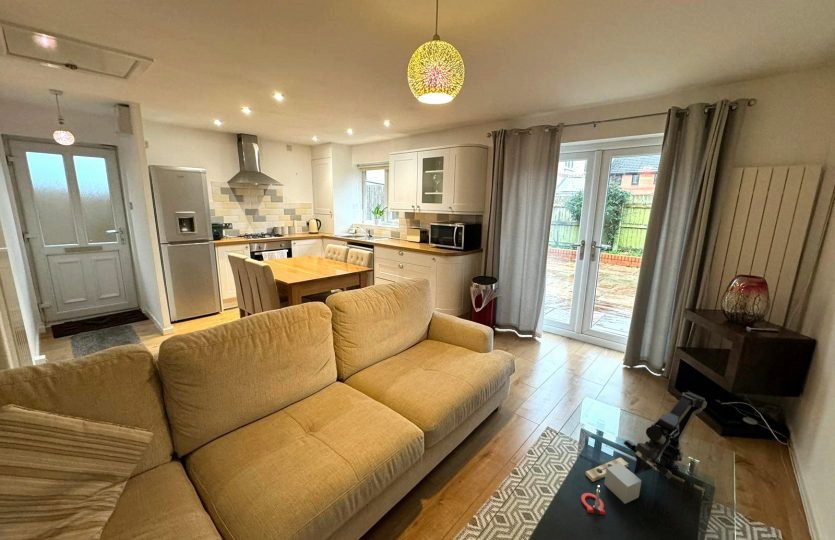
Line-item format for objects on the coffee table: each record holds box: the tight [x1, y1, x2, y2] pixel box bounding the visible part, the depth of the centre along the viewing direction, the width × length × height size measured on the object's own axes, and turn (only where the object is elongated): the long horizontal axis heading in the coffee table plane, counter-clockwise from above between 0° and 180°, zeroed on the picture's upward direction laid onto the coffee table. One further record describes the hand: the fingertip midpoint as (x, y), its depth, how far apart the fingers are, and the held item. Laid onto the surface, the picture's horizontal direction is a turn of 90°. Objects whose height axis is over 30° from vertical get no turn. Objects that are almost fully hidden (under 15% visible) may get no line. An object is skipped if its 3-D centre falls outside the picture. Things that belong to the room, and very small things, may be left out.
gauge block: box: [603, 463, 642, 505], centre depth 141 cm, size 8×10×9 cm
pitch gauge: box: [585, 457, 629, 482], centre depth 152 cm, size 22×4×2 cm, turn 110°
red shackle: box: [580, 485, 606, 515], centre depth 135 cm, size 8×13×9 cm
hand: (635, 473), depth 143 cm, fingers closed
